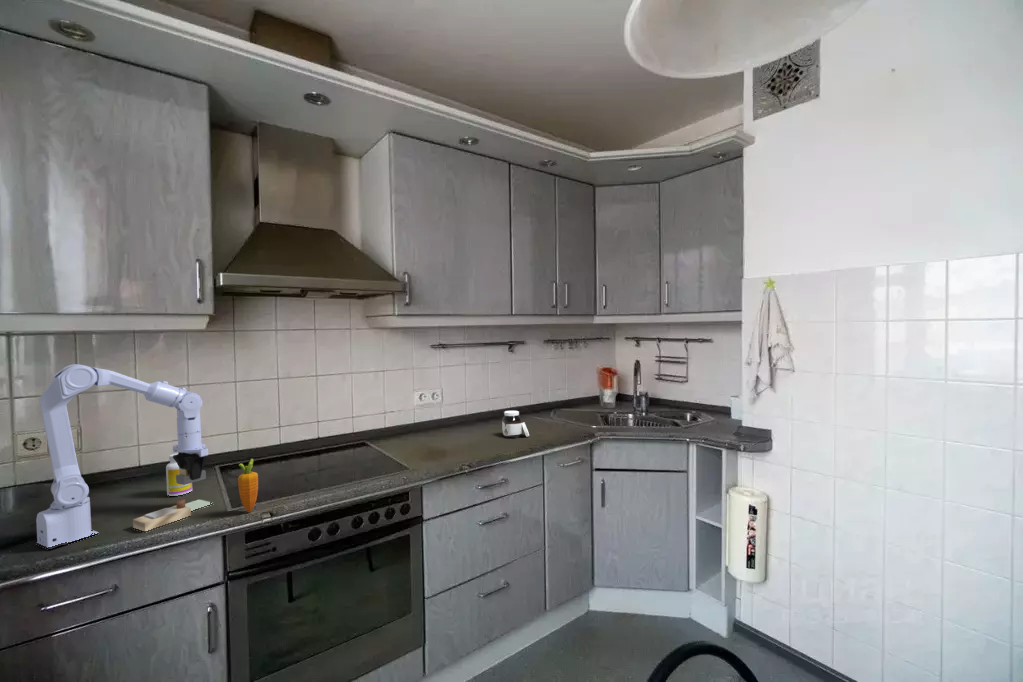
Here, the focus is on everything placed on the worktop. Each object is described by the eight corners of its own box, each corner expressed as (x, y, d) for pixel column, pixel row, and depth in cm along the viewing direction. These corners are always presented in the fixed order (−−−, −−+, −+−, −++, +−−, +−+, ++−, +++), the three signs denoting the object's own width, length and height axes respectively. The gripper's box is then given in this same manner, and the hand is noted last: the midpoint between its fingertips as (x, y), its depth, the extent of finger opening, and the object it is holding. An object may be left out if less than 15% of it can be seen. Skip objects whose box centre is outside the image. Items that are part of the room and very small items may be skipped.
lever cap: (184, 484, 131) (183, 470, 131) (176, 483, 133) (175, 468, 133) (205, 478, 136) (205, 464, 136) (198, 477, 138) (197, 463, 138)
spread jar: (500, 435, 216) (499, 411, 215) (521, 432, 220) (521, 408, 220) (511, 440, 205) (510, 414, 204) (533, 437, 209) (532, 412, 209)
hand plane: (145, 532, 118) (144, 515, 118) (133, 528, 120) (132, 511, 120) (191, 516, 128) (190, 500, 128) (179, 513, 130) (178, 497, 130)
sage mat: (186, 513, 130) (186, 512, 130) (171, 509, 133) (171, 508, 133) (213, 504, 137) (213, 502, 137) (199, 500, 140) (199, 499, 140)
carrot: (240, 517, 126) (238, 463, 125) (238, 512, 130) (236, 459, 129) (260, 513, 129) (258, 460, 128) (258, 507, 133) (256, 456, 132)
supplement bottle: (195, 493, 147) (193, 453, 147) (170, 499, 142) (168, 458, 142) (189, 488, 152) (187, 450, 151) (164, 494, 147) (163, 454, 146)
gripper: (218, 431, 135) (220, 476, 135) (190, 427, 141) (192, 471, 142) (192, 436, 128) (194, 484, 129) (164, 432, 135) (166, 478, 135)
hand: (191, 478), depth 135 cm, fingers closed on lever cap, 4 cm apart
